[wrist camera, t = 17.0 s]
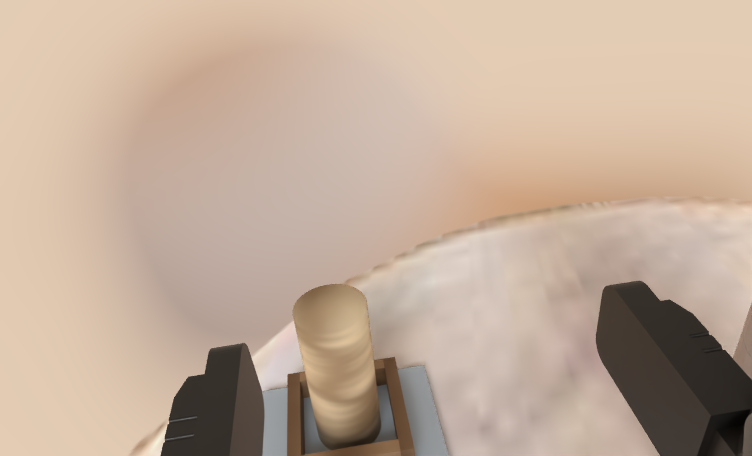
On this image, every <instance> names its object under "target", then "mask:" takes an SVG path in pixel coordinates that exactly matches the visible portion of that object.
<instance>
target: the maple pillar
mask: <svg viewBox="0 0 752 456" xmlns="http://www.w3.org/2000/svg"><path fill="white" fill-rule="evenodd" d="M293 318H294V322H295V327H296V332H297V337H298V341H299V346H300V351H301V356H302V360H303V365H304V370H305V374H306V379H307V384H308V389H309V393H310V398H311V403H312V408H313V412H314V417H315V422H316V427H317V431H318V436H319V438H320V440H321V442H322V443H323V445H324V446H325V447H327V448H328V449H330V450H336V449H342V448H348V447H354V446H359V445H365V444H371V443H373V442H374V441H375V440H376V438H377V437H378V435H379V433H380V430H381V417H380V409H379V400H378V392H377V384H376V375H375V367H374V359H373V350H372V342H371V334H370V326H369V317H368V309H367V301H366V298H365V296H364V295H363V293H362V292H360V291H359V290H358V289H356V288H354V287H351V286H348V285H342V284H331V285H324V286H320V287H317V288H315V289H312V290H310V291H308V292H306V293H305V294H304V295H302V296H301V297H300V298H299V299H298V300H297V302H296V303H295V305H294V308H293Z"/></svg>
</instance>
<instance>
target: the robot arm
mask: <svg viewBox="0 0 752 456" xmlns="http://www.w3.org/2000/svg"><path fill="white" fill-rule="evenodd" d="M596 344H597V349H598V353H599V356H600V358H601V361H602V362H603V364H604V366H605V367H606V369H607V371H608V372H609V374H610V376H611V377H612V379H613V380H614V382H615V384H616V385H617V387H618V388H619V390H620V392H621V393H622V395H623V396H624V398H625V400H626V401H627V403H628V404H629V406H630V408H631V409H632V411H633V412H634V414H635V416H636V417H637V419H638V421H639V422H640V424H641V425H642V427H643V429H644V430H645V432H646V433H647V435H648V437H649V438H650V440H651V441H652V443H653V445H654V446H655V448H656V449H657V451H658V453H659V454H660V456H752V303H751V306H750V309H749V312H748V315H747V318H746V321H745V324H744V327H743V331H742V334H741V337H740V339H739V342H738V345H737V348H736V351H735V354H734V357H733V358H732V357H731V356H730V355H729V354H728V353H727V352H726V350H722V346H721V345H720V344H719V343H718V342H717V340H716V339H715V338H714V337H713V336H712V335H709V331H708V330H707V329H706V328H705V327H704V326H703V325H702V324H701V323H700V321H699V320H698V319H697V318H696V317H695V316H694V315H693V314H692V313H691V312H689V311H687V310H686V309H684V308H682V307H681V306H679V305H678V304H676V303H674V302H673V301H671V300H664V301H660V300H659V299H658V298H657V297H656V295H655V294H654V293H653V292H652V291H651V289H650V288H649V287H648V286H647V285H646V284H645V283H644V282H642V281H634V282H628V283H622V284H615V285H609V286H606V287H605V288H604V290H603V293H602V299H601V306H600V312H599V319H598V325H597V332H596ZM264 420H265V411H264V400H263V394H262V390H261V386H260V383H259V380H258V377H257V374H256V371H255V368H254V365H253V361H252V358H251V355H250V352H249V349H248V347H247V345H246V344H245V343H242V344H236V345H230V346H223V347H217V348H212V349H210V351H209V354H208V359H207V364H206V370H205V374H203V375H197V376H191V377H188V378H187V379H186V381H185V382H184V384H183V385H182V387H181V388H180V390H179V391H178V393H177V394H176V396H175V397H174V400H173V404H172V409H171V413H170V417H169V424H168V426H167V430H166V434H165V443H163V447H162V452H161V456H262V454H263V437H264Z"/></svg>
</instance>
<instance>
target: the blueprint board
mask: <svg viewBox="0 0 752 456" xmlns="http://www.w3.org/2000/svg"><path fill="white" fill-rule="evenodd" d="M397 370H398V375H399V379H400V384H401V389H402V393H403V398H404V402H405V407H406V412H407V416H408V421H409V425H410V430H411V435H412V439H413V444H414V448H415V456H449V455H448V451H447V447H446V444H445V440H444V436H443V433H442V429H441V426H440V422H439V418H438V415H437V411H436V407H435V404H434V400H433V396H432V393H431V389H430V386H429V382H428V378H427V375H426V371H425V367H424V365H421V366H415V367H409V368H403V369H397ZM377 392H378V400H379V409H380V417H381V430H380V433H379V435H378V437H377V438H376V440H375V441H374V442H373V443H377V442H383V441H389V440H395V439H397V437H396V432H395V427H394V421H393V416H392V411H391V405H390V400H389V395H388V390H387V385H381V386H377ZM287 396H288V387H286V388H280V389H274V390H267V391H263V400H264V411H265V420H264V437H263V454H262V456H287ZM304 430H305V455H306V454H312V453H318V452H324V451H330V449H328V448H327V447H325V446H324V445H323V443H322V442H321V440H320V438H319V436H318V431H317V427H316V422H315V417H314V412H313V408H312V403H311V398H310V397H308V398H304Z"/></svg>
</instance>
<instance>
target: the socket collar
mask: <svg viewBox="0 0 752 456" xmlns="http://www.w3.org/2000/svg"><path fill="white" fill-rule="evenodd" d="M374 367H375V375H376V384H377V386H381V385H387V390H388V395H389V400H390V405H391V411H392V416H393V421H394V427H395V432H396V437H397V439H395V440H389V441H383V442H377V443H371V444H365V445H359V446H354V447H348V448H342V449H336V450H330V451H324V452H318V453H312V454H306V455H305V430H304V398H308V397H310V393H309V389H308V384H307V379H306V374H305V372H299V373H293V374H288V396H287V456H415V448H414V444H413V439H412V435H411V430H410V425H409V421H408V416H407V412H406V407H405V402H404V398H403V393H402V389H401V384H400V379H399V375H398V370H397V366H396V361H395V357H392V358H386V359H380V360H374Z"/></svg>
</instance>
